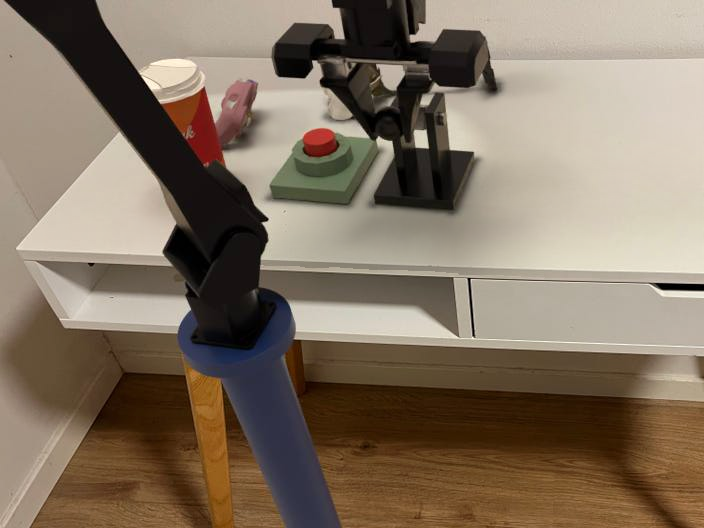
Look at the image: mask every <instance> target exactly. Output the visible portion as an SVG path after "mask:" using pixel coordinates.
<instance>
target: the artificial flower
mask: <svg viewBox="0 0 704 528" xmlns="http://www.w3.org/2000/svg"><path fill="white" fill-rule="evenodd" d="M484 37H485V38H486V39H487V37H486V35H484ZM489 49H490V48H489V47H488V61H487V63H486V65H485V67H484V69H483V71H482V73H481V76H482V77H483V80H484V84H485V85H488V86H489V88H490V89H491V90H498V86H497V81H496V77H495V71H494V69H493V67H492V64H491V58H492V57H491V53H490V50H489ZM382 78H383V75H382V74H381V69H380V67H379V66H378V65H377V64H369V84H370V88H371V93H372V97H374V98H379V97H383V96H389V95H390V96H391V95H392V96H393V95H397V89H396V90H395V89H394V90H391V89H389V88H387V86H385V84H384V82H383V80H382ZM322 91H323V93H324V95H325V96H327V97H328V98H330V101H329V104H328V106H327V109H328V116H329V117H330V118H332V120H335V121H345V120H349V119H351V118H352V117H354V116H353V115H352V114H351V112H350V111H349V110H348V109H347V107H346V106H345V105H344V104H343V103H342V102H341V101H340V100H339V99H338V98H337V97H336V95H335V94H334V93H333V92H332V91H331V90H330V89H328V88H322Z"/></svg>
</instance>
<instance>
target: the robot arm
mask: <svg viewBox="0 0 704 528" xmlns="http://www.w3.org/2000/svg"><path fill="white" fill-rule="evenodd" d="M3 2H5V3H6V4H7V5H8V6H9V7H10V8H11V9H12V10H13V11H14V12H15V13H17V14H18V15H19V16H20V17H21V18H22V19H23V20H24V21H25V22H26V23H27V24H29V25H30V27H31V28H32V29H34V30H35V31H36V32H37V33H39V35H40V36H41V37H43V38H44V39H45V40H46V41H47V42H48V43H49V44H50V45H51V46H52V47H53V49H54V50H55V51H56V53H58V55H59V56H60V57H61V58H62V60H63V61H64V62H65V64H66V65H67V66H68V68H69V69H70V70H71V71H72V73H73V74H74V75H75V77H76V78H77V79H78V80H79V82H80V83H81V85H83V87H84V88H85V89H86V91H87V93H88V94H89V95H90V96H91V97H92V98H93V100H94V101H95V102H96V103H97V105H98V106H99V108H100V109H101V110H102V111H103V112H104V114H105V115H106V116H107V117H108V119H109V120H110V121H111V123H112V124H113V126H115V128H116V129H117V130H118V131H119V133H120V134H121V135H122V137H123V138H124V139H125V141H126V142H127V143H128V144H129V145H130V147H131V148H132V150H133V151H134V153H136V155H137V156H138V157H139V159H140V160H141V161H142V162H143V164H144V165H145V166H146V167H147V169H148V170H149V171H150V172H151V174H152V175H153V176H154V178H155V179H156V181H157V183H158V184H159V188H160V189H161V192H162V195H163V198H164V202H165V204H166V206H167V208H168V210H169V212H170V213H171V216H172V217H173V220H174V222H175V225H174V226H173V228H172V231H171V234H169V236H168V239H167V241H166V243H165V244H164V247H163V249H162V255H163V256H164V257H165V258H166V260H167V262H169V264H171V266H172V267H173V268H174V269H175V270H176V272H177V273H178V274H179V275H180V277H181V278H182V279H183V280H184V285H185V289H186V293H185V295H184V297H185V299H186V301H187V304H188V306H189V308H190V310H191V311H192V313H193V315H194V317H195V320H196V322H197V324H198V326H197V327H196V329H195V330H194V332H193V333H192V335H191V336H190V340H191V342H192V343H194V344H201V345H209V346H216V347H224V348H232V349H240V350H251V349H253V348H254V346H255V344H256V343H257V341H258V339H259V338H260V336H261V334H262V332H263V331H264V329H265V327H266V326H267V324H268V322H269V321H270V319H271V317H272V315H273V314H274V312H275V310H276V309H277V305H276V303H275V302H272V301H264V300H261V299H260V298H261V295H260V292H259V289H258V287H260V277H261V263H262V256H263V254H264V252H265V251H266V247H267V244H268V243H269V241H270V240H269V239H270V238H269V233H268V231H267V228H266V226H265V225H264V224H263V223H268V222H269V219H270V218H269V217H268V216H267V215H266V214H265V213H264V212H263V211H261V209H259V207H257V206H256V205H255V202H254V200H253V198H252V194H251V193H250V191H249V189H248V188H247V186H246V185H245V184H244V183H243V182H242V181H241V180H240V179H239V178H238V177H237V176H235V174H234V173H233V172H231V171H230V170H229V169H228V168H227V166H226V167H225V166H224V165H223V164H222V163H221V162H219V161H218V160H217V159H215V160H214V161H213V162H212V163H211V164H210V165H209V166H207V167H206V168H205V166H204V165H203V163H202V162H201V160H200V159H199V158H198V156H197V155H196V153H195V152H194V150H193V149H192V148H191V146H190V145H189V143H188V142H187V140H186V139H185V138H184V136H183V135H182V133H181V132H180V131H179V129H178V128H177V126H176V125H175V123H174V122H173V121H172V119H171V118H170V116H169V115H168V113H167V112H166V111H165V109H164V108H163V106H162V105H161V103H160V102H159V101H158V99H157V98H156V96H155V95H154V93H153V92H152V91H151V89H150V88H149V86H148V85H147V84H146V82H145V81H144V79H143V78H142V76H141V75H140V74H139V72H138V71H139V70H137V68H136V67H135V65H134V64H133V61H131V59H130V58H129V56H128V55H127V53H126V52H125V50H124V49H123V48H122V47H121V45H120V43H119V42H118V41H117V39H116V38H115V37H114V35H113V34H112V32H111V31H110V29H109V28H108V26H107V25H106V22H105V21H104V19H103V17H102V13H101V11H100V8H99V5H98V2H97V0H3ZM426 3H427V1H426V0H331V6H332V8H333V9H339V15H340V21H341V27H342V33H343V38H336V35H335V31H334V30H335V29H334V28H332V26H331V25H330V24H329V23H314V22H313V23H310V22H293V23H292V25H291V26H289V28H288V29H287V30H286V31H285V32H284V33H283V34H282V35H281V36H280V37H279V38H278V39H277V41H276V42H275V43H274V44H273V46H272V47H271V55H270V58H271V61H272V67H273V70H274V74H275V75H276V77H278V78H284V79H285V78H286V79H301V80H303V79H306V78H307V77H308V76H309V75H310V74H311V72H312V71H313V69H314V62H316V63H317V64H319V66H320V72H321V78H320V79H319V86H320V87H321V88H322V89H323V88H328V89H330V90H331V91H332V92H333V93H334V94H335V95H336V97H337V98H338V99H339V100H340V101H341V102H342V103H343V104H344V105H345V106H346V107H347V109H348V110H349V111H350V112H351V114H352V115H353V116H352V117H354V119H355V120H356V121H357V123H358V124H359V125H360V127H361V128H362V130H363V131H364V132H365V134H366V135H367V137H368V138H370V139H371V140H372V141H377V140H378V139H379V136H378V135H377V133H376V132H375V130H374V126H373V120H374V116H375V114H376V113H377V111H376V107H375V103H374V99H373V95H372V93H371V88H370V84H369V64H376V65H386V66H387V65H388V66H402V71H403V72H404V75H403V76H402V78H401V80H400V81H399V83H398V85H397V86H396V90H397V93H396V95H397V97H398V104H399V111H400V118H401V125H402V132H403V135H404V139H405V142H406V143H410V142H411V140H412V138H413V134H414V135H415V131H416V130H415V125H416V121H417V117H418V112H419V108H420V104H421V103H422V99H423V96H424V95H426V94H430V92H431V91H432V90H433V87H434V85H435V84H436V85H437V86H438V87H441V88H442V87H443V88H457V89H458V88H459V89H470V88H473V87H476V86H477V84H478V81H479V80H480V77H481V76H482V71H483V69H484V67H485V65H486V63H487V61H488V48H489V43H488V40H487V37H486V36H485V35H484V34H483V33H482V31H481V30H475V29H451V28H443V29H442V30H441V32H440V34H439V35H438V37H437V39H436V40H435V41H432V40H430V41H429V40H416V41H413V42H412V41H411V36H416V35H417V34H418V32H419V31H420V24H421V25H426V23H427V17H426V16H427V12H426V11H427V8H426V7H427V4H426ZM484 36H485V37H486V38H485V37H484ZM247 345H248V346H247Z"/></svg>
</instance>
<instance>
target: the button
mask: <svg viewBox="0 0 704 528" xmlns="http://www.w3.org/2000/svg"><path fill="white" fill-rule="evenodd" d="M335 133H336V132H335V131H334V130H332V129H330V128H327V127H318V128H313V129H311V130H308V131H307V132H306V133H305V134H303V136H302V138H303V143H304V147H305V151H306V154H307V155H308V156H310V157H323V156H328V155H330V154H332V153H334V152H336V150H337V143H336V138H335Z"/></svg>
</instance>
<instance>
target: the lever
mask: <svg viewBox="0 0 704 528" xmlns="http://www.w3.org/2000/svg"><path fill="white" fill-rule="evenodd" d="M428 105H429V104H421V103H420V108H419V112H418V117H417V121H416V125H415V130H414V131H427V130H426V122H425V111H426V109H427V107H428ZM373 126H374V130H375V132H376V133H377V135H378V138H380V139H382V140H384V141H387V142H392V141H395V140H397V139H399V138H401V137H402V136H403V132H402V125H401V118H400V111H399V109H398V108H396V107H393V106H390V105H386V106H383V107H381V108H379V109H378V110H377V111H376V114H375V116H374V120H373Z"/></svg>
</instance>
